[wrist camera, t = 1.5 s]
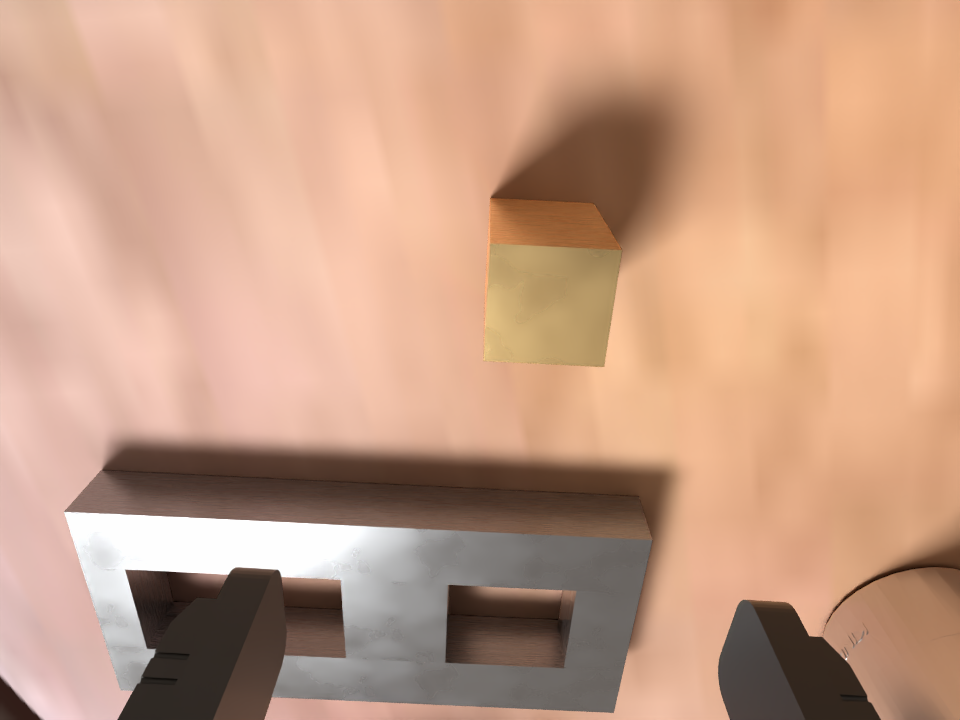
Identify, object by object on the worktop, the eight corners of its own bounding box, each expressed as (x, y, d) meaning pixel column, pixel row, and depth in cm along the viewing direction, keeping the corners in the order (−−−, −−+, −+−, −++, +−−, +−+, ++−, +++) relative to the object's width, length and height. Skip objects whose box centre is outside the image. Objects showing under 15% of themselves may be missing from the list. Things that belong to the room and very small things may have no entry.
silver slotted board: (638, 496, 31) (652, 540, 28) (604, 662, 36) (613, 712, 34) (101, 470, 31) (64, 511, 28) (148, 641, 36) (120, 690, 34)
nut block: (593, 203, 25) (622, 250, 19) (581, 299, 26) (604, 366, 21) (490, 197, 25) (489, 243, 19) (484, 294, 26) (483, 360, 21)
